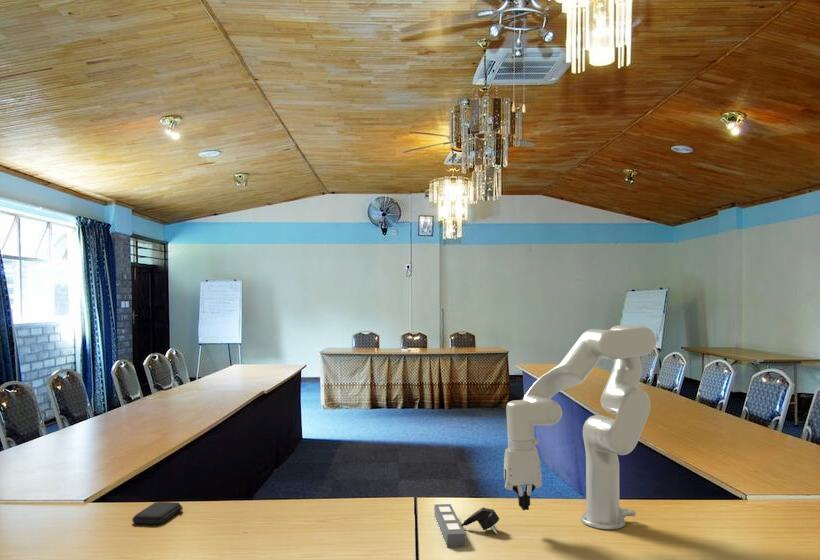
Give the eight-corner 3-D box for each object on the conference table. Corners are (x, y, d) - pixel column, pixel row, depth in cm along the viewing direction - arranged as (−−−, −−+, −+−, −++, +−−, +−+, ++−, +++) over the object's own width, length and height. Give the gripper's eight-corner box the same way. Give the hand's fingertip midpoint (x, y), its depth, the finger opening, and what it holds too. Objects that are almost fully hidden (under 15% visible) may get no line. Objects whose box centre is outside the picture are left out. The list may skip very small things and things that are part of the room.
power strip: (450, 515, 190) (450, 503, 190) (465, 546, 166) (465, 532, 166) (434, 516, 189) (434, 503, 189) (447, 547, 166) (447, 533, 166)
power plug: (457, 522, 182) (490, 501, 180) (472, 544, 181) (505, 523, 179) (454, 529, 176) (488, 507, 174) (469, 552, 175) (504, 530, 173)
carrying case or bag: (163, 528, 180) (187, 510, 194) (163, 517, 180) (187, 501, 195) (129, 526, 181) (155, 509, 196) (129, 516, 181) (155, 499, 196)
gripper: (542, 439, 181) (545, 501, 181) (492, 443, 180) (495, 506, 179) (550, 445, 174) (554, 510, 173) (499, 449, 172) (502, 515, 172)
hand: (524, 508), depth 176 cm, fingers closed
